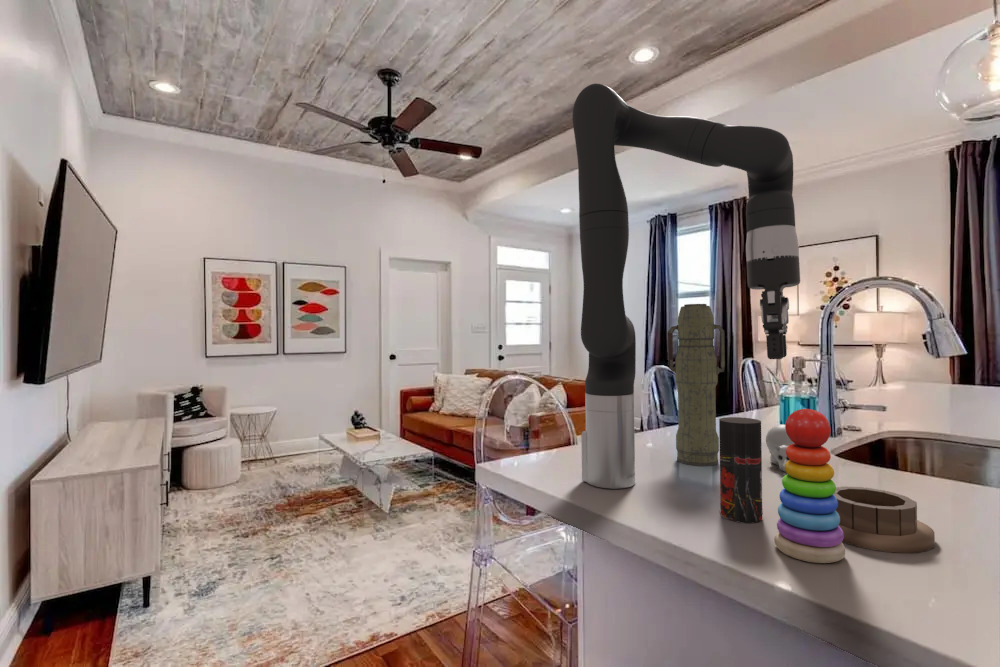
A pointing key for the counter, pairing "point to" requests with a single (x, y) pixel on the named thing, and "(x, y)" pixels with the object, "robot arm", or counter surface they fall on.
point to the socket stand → (881, 521)
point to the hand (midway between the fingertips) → (777, 358)
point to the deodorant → (740, 469)
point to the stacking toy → (809, 493)
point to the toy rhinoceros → (778, 445)
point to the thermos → (696, 384)
